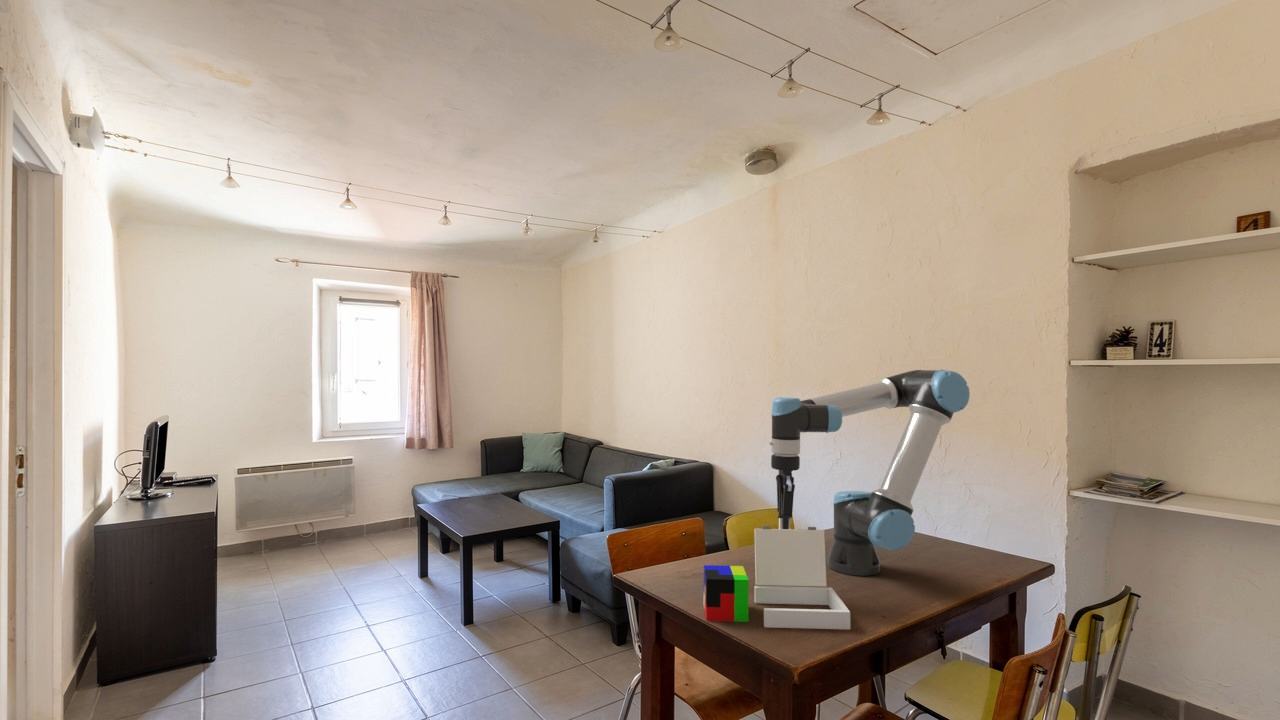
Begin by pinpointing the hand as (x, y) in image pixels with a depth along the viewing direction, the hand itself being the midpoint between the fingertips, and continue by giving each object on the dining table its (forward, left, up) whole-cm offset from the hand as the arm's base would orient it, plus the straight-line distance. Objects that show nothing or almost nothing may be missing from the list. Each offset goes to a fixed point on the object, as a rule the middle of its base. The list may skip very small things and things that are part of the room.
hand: (784, 541), depth 161 cm
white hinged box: (0, +15, -14) cm, 20 cm away
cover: (0, +7, -2) cm, 7 cm away
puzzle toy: (+17, +15, -14) cm, 27 cm away
